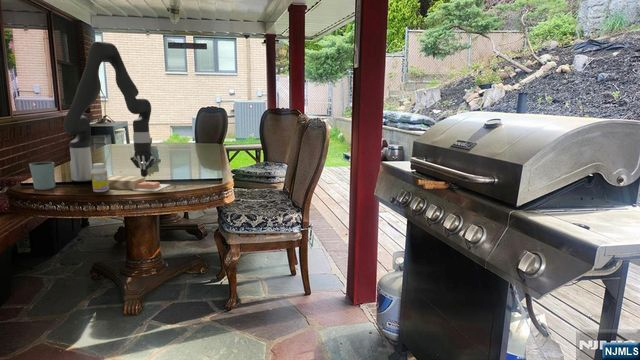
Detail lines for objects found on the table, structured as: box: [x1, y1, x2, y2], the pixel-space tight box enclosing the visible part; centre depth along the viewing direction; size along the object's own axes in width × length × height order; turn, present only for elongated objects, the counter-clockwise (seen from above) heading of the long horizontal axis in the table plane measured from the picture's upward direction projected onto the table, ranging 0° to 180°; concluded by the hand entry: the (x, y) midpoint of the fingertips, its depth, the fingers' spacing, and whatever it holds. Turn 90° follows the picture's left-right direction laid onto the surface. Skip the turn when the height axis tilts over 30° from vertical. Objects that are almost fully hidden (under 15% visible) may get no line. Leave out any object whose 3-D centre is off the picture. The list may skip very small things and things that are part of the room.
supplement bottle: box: [91, 162, 110, 193], centre depth 197 cm, size 7×7×13 cm
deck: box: [107, 174, 146, 190], centre depth 208 cm, size 20×10×4 cm, turn 81°
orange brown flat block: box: [136, 181, 161, 189], centre depth 205 cm, size 9×6×2 cm, turn 81°
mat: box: [132, 183, 171, 192], centre depth 206 cm, size 12×14×1 cm
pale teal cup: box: [29, 161, 56, 191], centre depth 202 cm, size 10×10×12 cm
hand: (144, 176), depth 205 cm, fingers closed
